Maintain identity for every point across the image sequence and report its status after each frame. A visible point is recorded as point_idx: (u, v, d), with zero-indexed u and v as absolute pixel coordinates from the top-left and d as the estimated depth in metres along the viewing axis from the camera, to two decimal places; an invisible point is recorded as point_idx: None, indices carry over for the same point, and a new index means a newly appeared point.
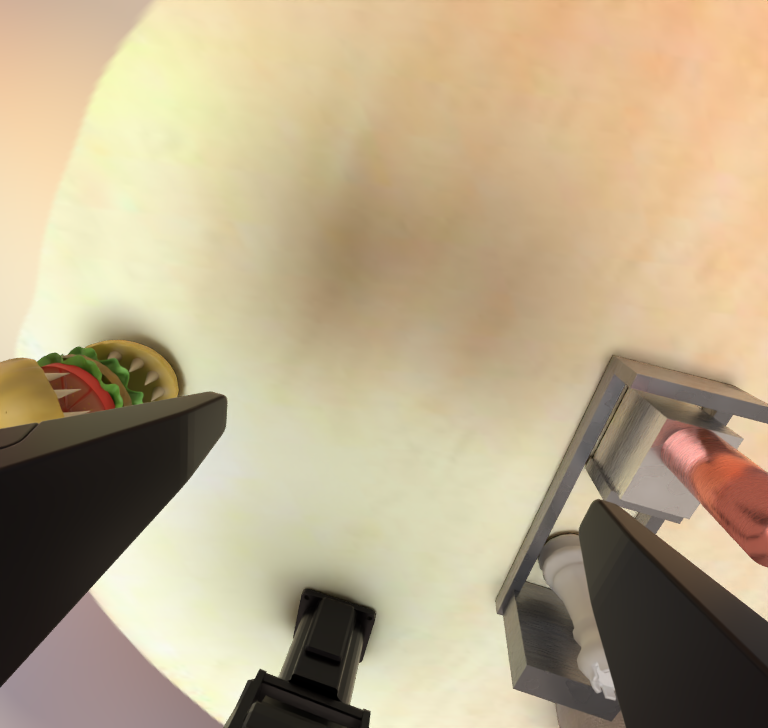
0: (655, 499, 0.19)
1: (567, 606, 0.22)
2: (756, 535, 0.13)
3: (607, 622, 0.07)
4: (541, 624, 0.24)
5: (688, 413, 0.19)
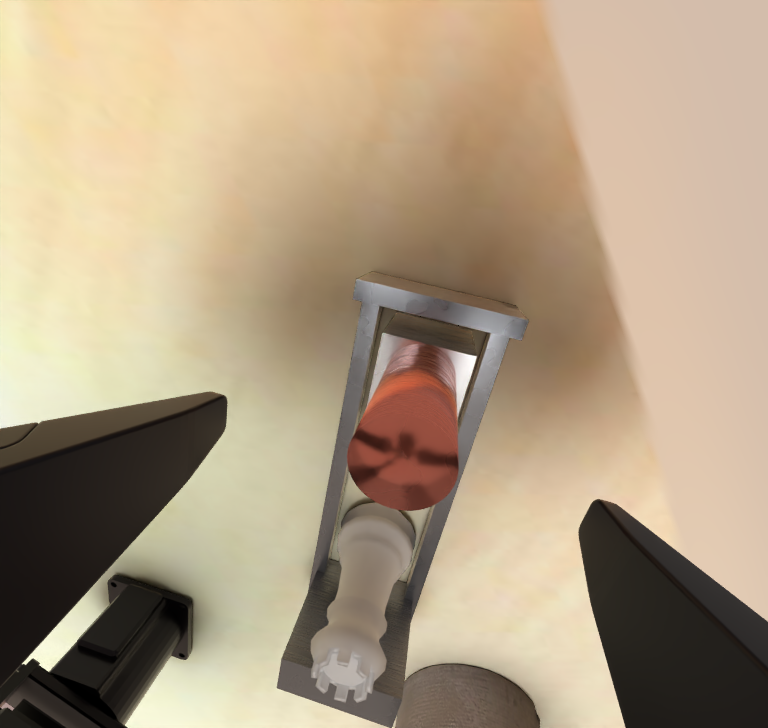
0: None
1: None
2: (358, 458, 0.09)
3: (607, 622, 0.07)
4: None
5: (436, 334, 0.15)
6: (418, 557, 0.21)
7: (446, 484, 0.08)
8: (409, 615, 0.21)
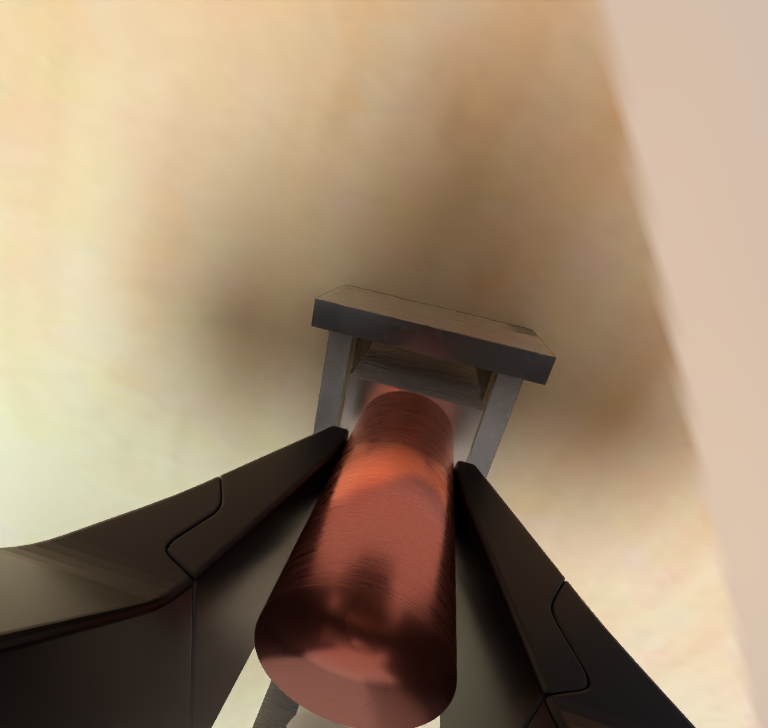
0: None
1: None
2: (274, 646, 0.05)
3: None
4: None
5: (427, 372, 0.11)
6: None
7: (434, 702, 0.05)
8: None
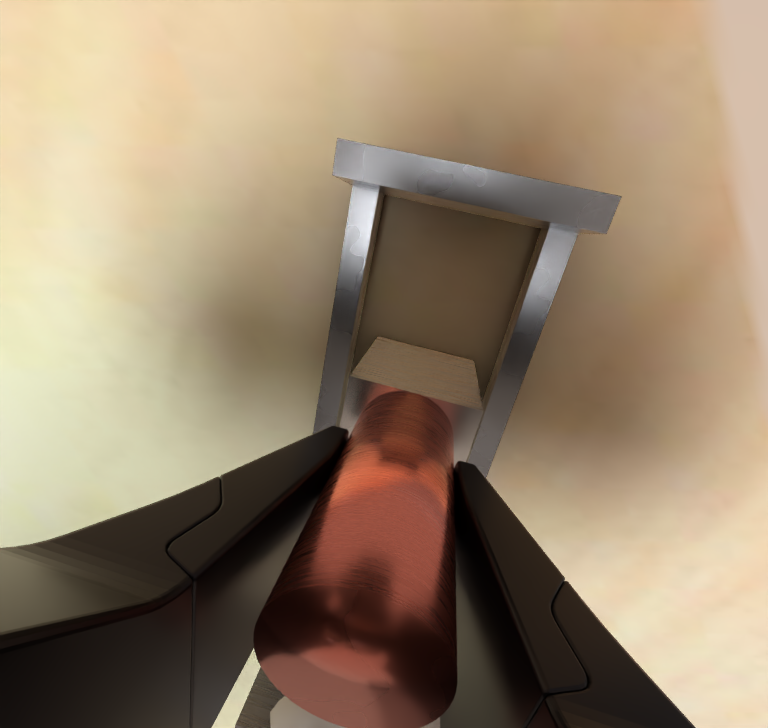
0: None
1: None
2: (273, 649, 0.05)
3: None
4: None
5: (427, 372, 0.11)
6: None
7: (434, 703, 0.05)
8: None
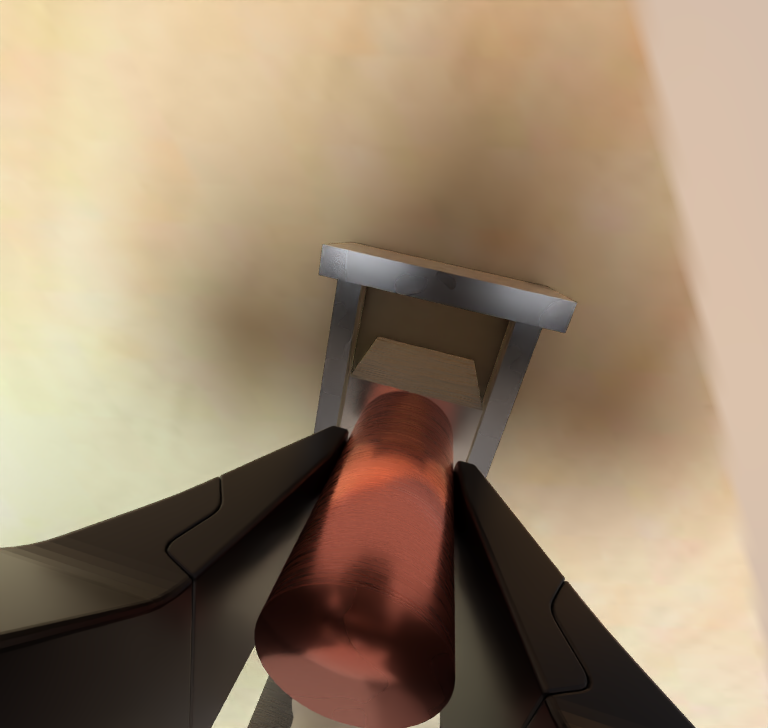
0: None
1: None
2: (274, 646, 0.05)
3: None
4: None
5: (427, 372, 0.11)
6: None
7: (433, 700, 0.05)
8: None
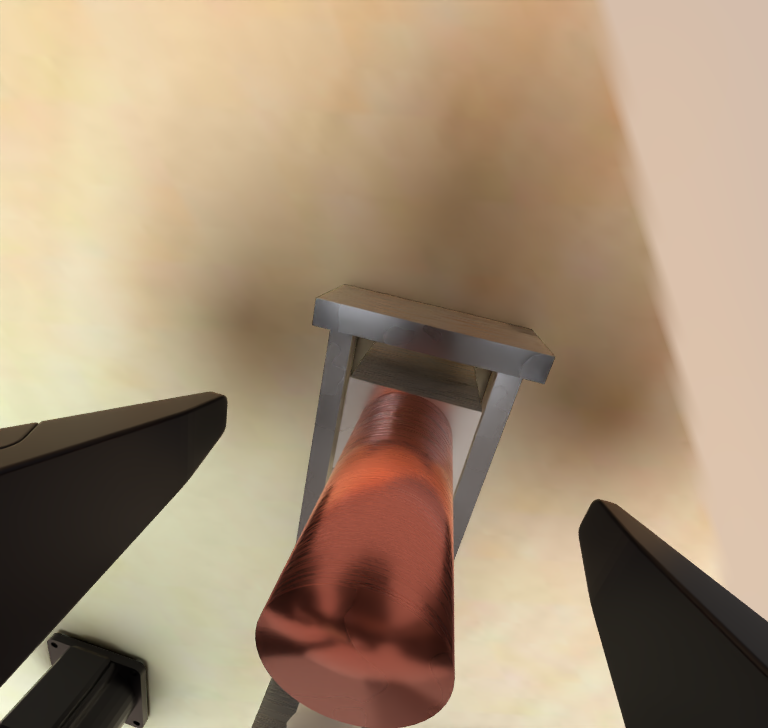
0: None
1: None
2: (275, 646, 0.05)
3: (607, 622, 0.07)
4: None
5: (427, 373, 0.11)
6: None
7: (432, 699, 0.05)
8: None
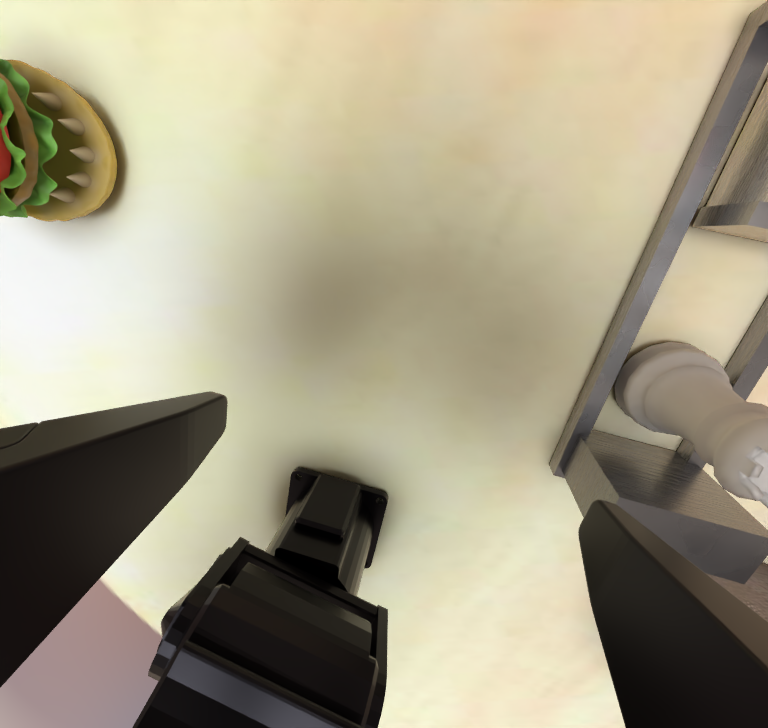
0: None
1: (674, 417, 0.15)
2: None
3: (607, 622, 0.07)
4: (627, 465, 0.17)
5: None
6: None
7: None
8: (707, 475, 0.18)
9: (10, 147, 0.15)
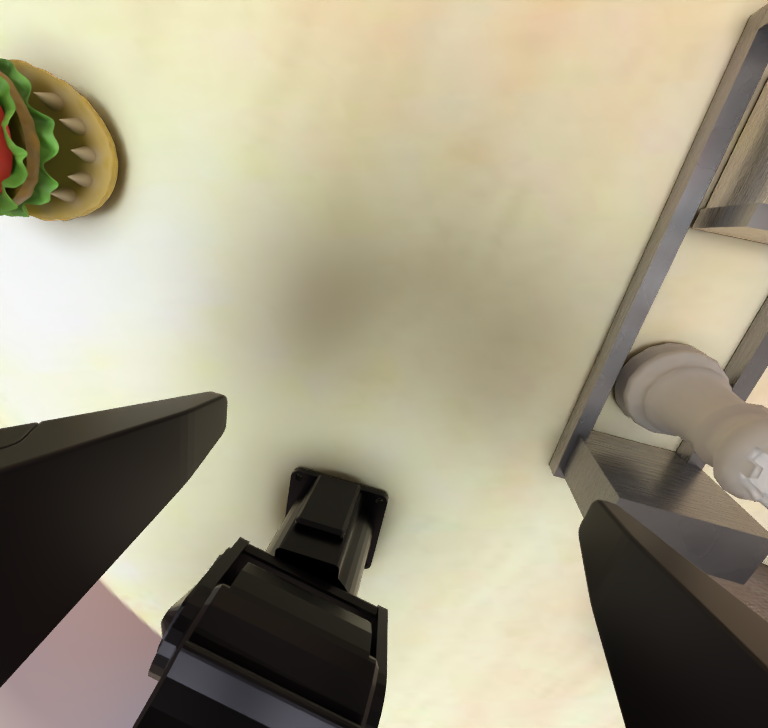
0: None
1: (674, 418, 0.15)
2: None
3: (607, 622, 0.07)
4: (627, 465, 0.17)
5: None
6: None
7: None
8: (707, 476, 0.18)
9: (12, 146, 0.15)
